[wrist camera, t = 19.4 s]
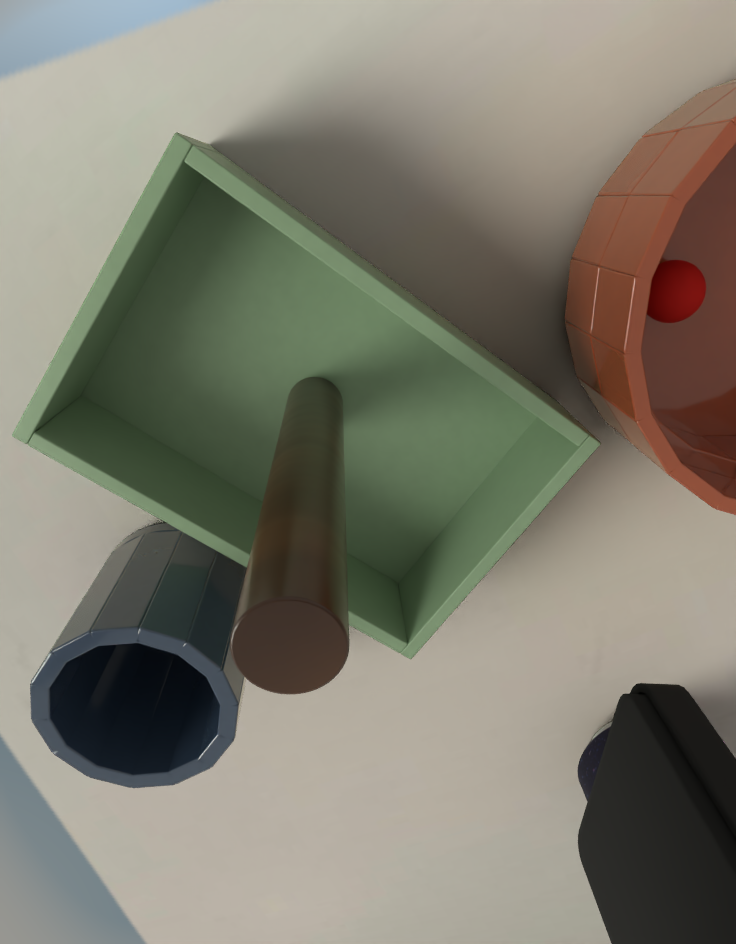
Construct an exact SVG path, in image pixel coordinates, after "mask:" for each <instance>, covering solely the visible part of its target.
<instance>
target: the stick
mask: <svg viewBox="0 0 736 944" xmlns="http://www.w3.org/2000/svg"><path fill="white" fill-rule="evenodd" d="M230 652H231V656H232V659H233V661H234V663H235V665H236V667H237V669H238V670H239V671H240V673H241V674H242V675H243V676H244V677H245V678H246V679H247V680H249V681H250V682H251V683H253V684H254V685H256V686H258V687H260V688H262V689H264V690H267V691H270V692H274V693H279V694H301V693H306V692H310V691H313V690H316V689H318V688H320V687H322V686H324V685H325V684H327V683H329V682H330V681H331V680H332V679H334V677H335V676H336V675H337V674H338V673H339V672H340V670H341V669H342V668H343V666H344V664H345V662H346V660H347V657H348V652H349V616H348V579H347V541H346V503H345V465H344V428H343V400H342V396H341V393H340V391H339V390H338V388H337V387H336V386H335V385H334V384H333V383H332V382H330V381H328V380H326V379H324V378H320V377H309V378H305V379H303V380H301V381H299V382H298V383H297V384H295V385H294V387H293V388H292V389H291V391H290V393H289V396H288V400H287V404H286V408H285V412H284V416H283V420H282V424H281V429H280V433H279V437H278V441H277V445H276V449H275V453H274V458H273V462H272V466H271V470H270V474H269V478H268V482H267V487H266V491H265V495H264V499H263V503H262V507H261V511H260V516H259V520H258V524H257V528H256V532H255V536H254V541H253V545H252V549H251V553H250V557H249V561H248V565H247V570H246V574H245V578H244V582H243V586H242V590H241V594H240V599H239V603H238V607H237V611H236V615H235V619H234V623H233V628H232V632H231V636H230Z"/></svg>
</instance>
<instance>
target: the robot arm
mask: <svg viewBox="0 0 736 944" xmlns="http://www.w3.org/2000/svg"><path fill="white" fill-rule="evenodd" d="M578 847H579V854H580V858H581V862H582V865H583V867H584V870H585V873H586V875H587V878H588V881H589V884H590V886H591V889H592V892H593V894H594V897H595V900H596V903H597V905H598V908H599V911H600V913H601V916H602V919H603V922H604V924H605V927H606V930H607V932H608V935H609V938H610V940H611V943H612V944H736V759H735V757H734V756H733V754H732V753H731V752H730V750H729V749H728V747H727V746H726V744H725V743H724V742H723V740H722V739H721V737H720V736H719V735H718V733H717V732H716V730H715V729H714V727H713V726H712V725H711V723H710V722H709V720H708V719H707V718H706V716H705V715H704V713H703V712H702V711H701V709H700V708H699V706H698V705H697V703H696V702H695V701H694V699H693V698H692V696H691V695H690V694H689V692H688V691H687V690H686V689H685V688H684V687H682V686H680V685H669V684H646V683H640V684H636V685H635V686H634V687H633V688H632V690H631V692H630V694H623V695H622V696H621V697H620V699H619V701H618V704H617V708H616V711H615V714H614V718H613V721H612V724H611V727H610V731H609V734H608V737H607V741H606V744H605V747H604V750H603V754H602V757H601V760H600V763H599V767H598V770H597V773H596V777H595V780H594V783H593V786H592V790H591V793H590V796H589V799H588V803H587V806H586V809H585V813H584V816H583V819H582V822H581V826H580V829H579V834H578Z"/></svg>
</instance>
